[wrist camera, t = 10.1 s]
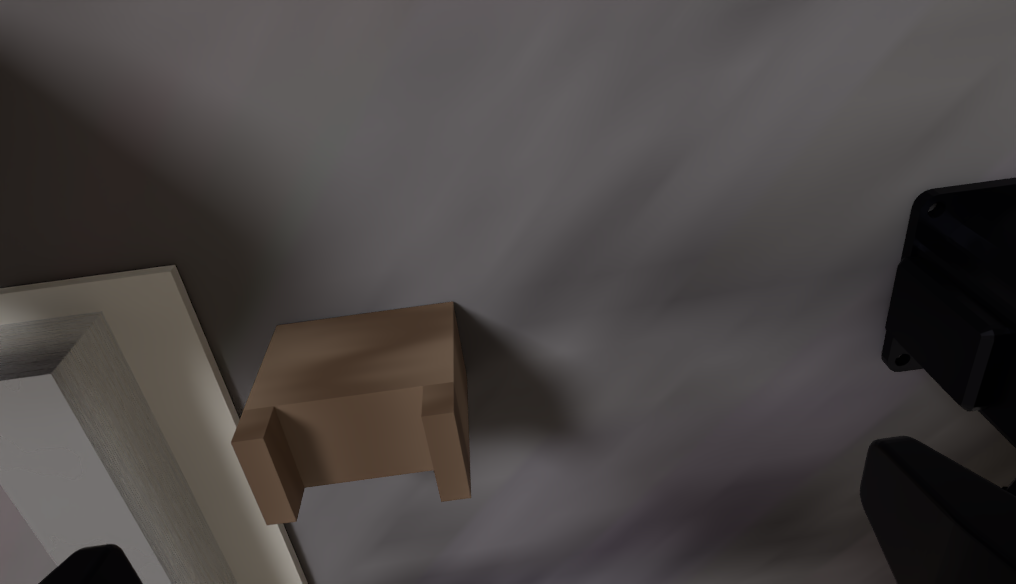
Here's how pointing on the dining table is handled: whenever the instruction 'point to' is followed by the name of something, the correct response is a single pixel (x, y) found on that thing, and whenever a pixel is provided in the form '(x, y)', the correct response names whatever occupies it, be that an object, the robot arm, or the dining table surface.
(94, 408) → the rail
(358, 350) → the post
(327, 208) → the dining table surface
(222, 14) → the dining table surface
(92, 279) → the mat
